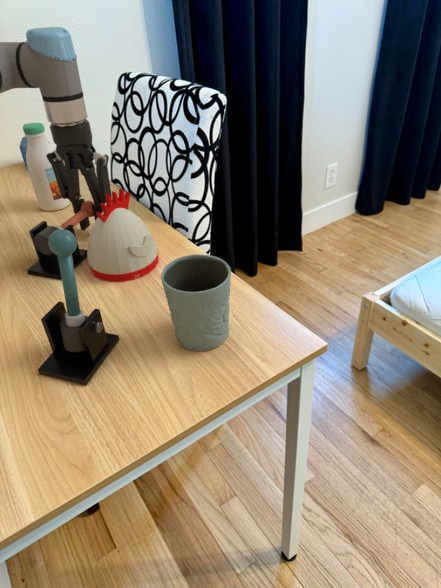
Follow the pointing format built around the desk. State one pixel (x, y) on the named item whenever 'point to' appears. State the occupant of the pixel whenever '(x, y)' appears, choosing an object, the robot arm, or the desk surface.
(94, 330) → the front stand
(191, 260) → the grey green cup
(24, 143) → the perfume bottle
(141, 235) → the kitchen timer
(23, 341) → the desk surface
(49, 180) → the milk bottle
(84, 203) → the terracotta lever
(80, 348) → the ball top lever
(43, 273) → the back stand
